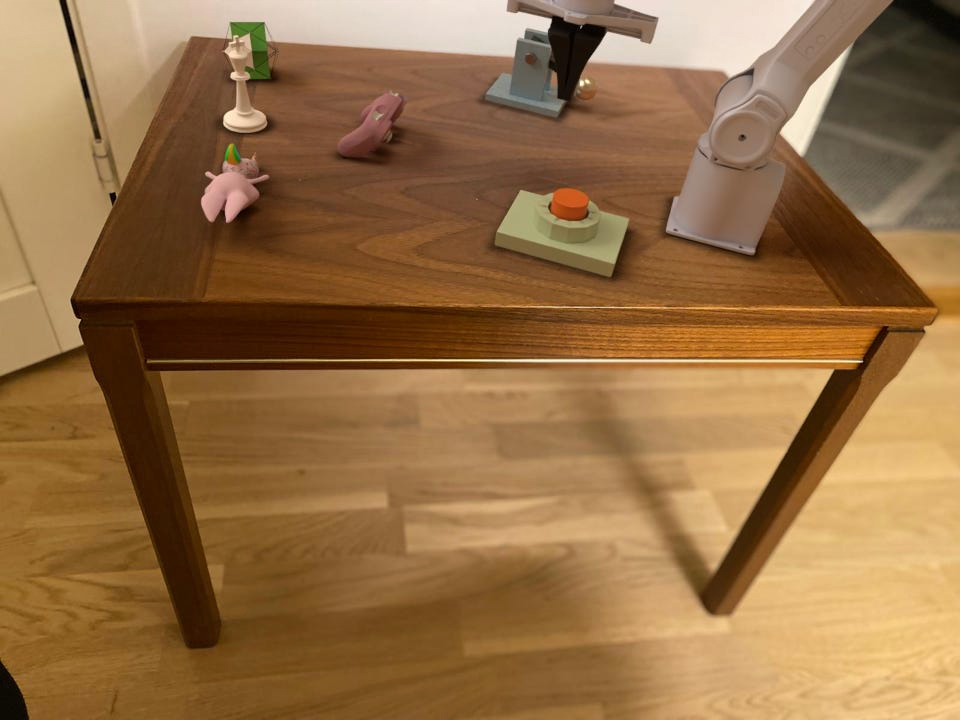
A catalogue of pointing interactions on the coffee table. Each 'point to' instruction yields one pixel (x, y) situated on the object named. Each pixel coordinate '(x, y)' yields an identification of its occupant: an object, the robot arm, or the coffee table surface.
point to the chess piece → (242, 96)
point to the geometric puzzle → (253, 48)
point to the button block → (562, 234)
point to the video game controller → (373, 125)
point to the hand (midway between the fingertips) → (565, 96)
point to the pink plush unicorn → (232, 186)
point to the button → (569, 204)
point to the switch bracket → (529, 78)
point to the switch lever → (585, 84)
